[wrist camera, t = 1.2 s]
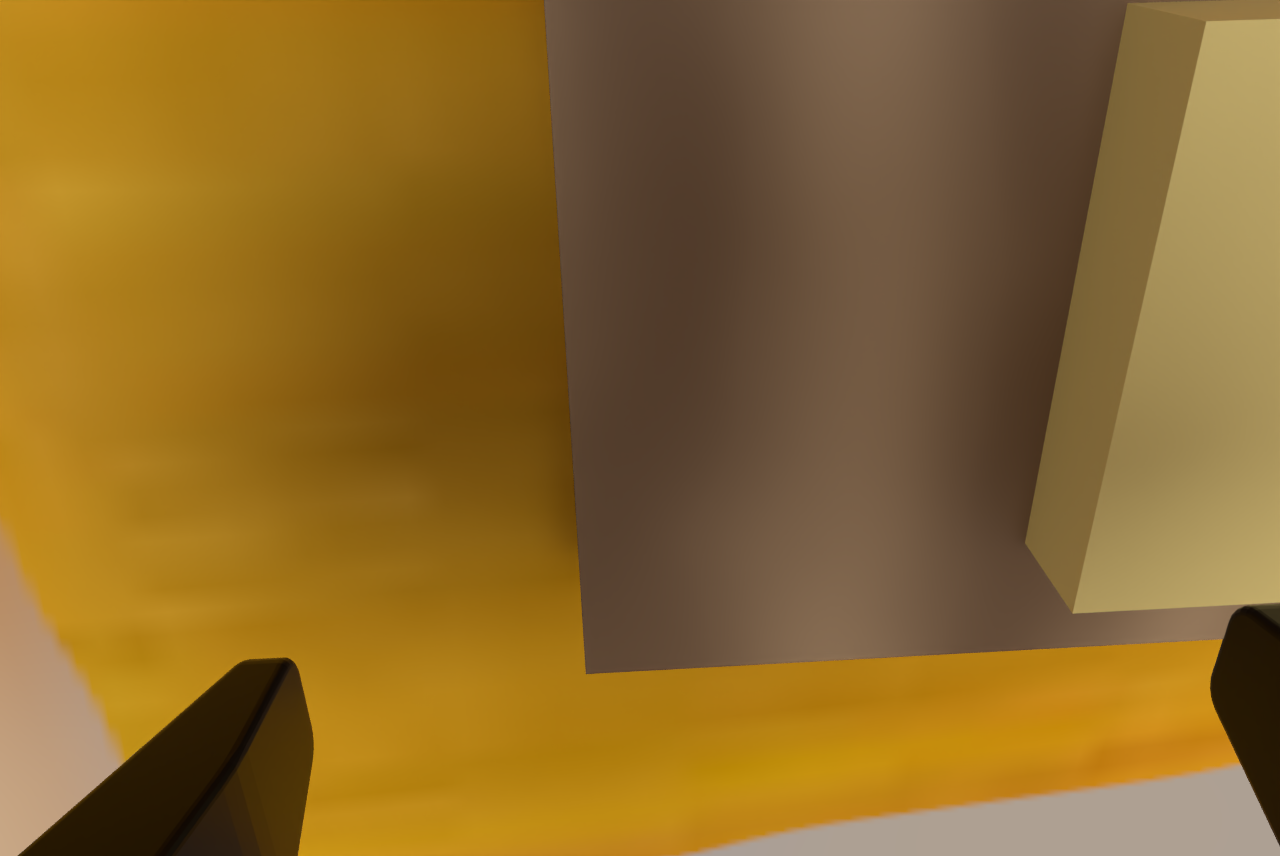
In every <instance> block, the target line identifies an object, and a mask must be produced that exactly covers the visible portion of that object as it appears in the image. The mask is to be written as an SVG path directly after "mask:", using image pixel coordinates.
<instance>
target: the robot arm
mask: <svg viewBox="0 0 1280 856" xmlns="http://www.w3.org/2000/svg"><path fill="white" fill-rule="evenodd" d="M1210 690H1211V698H1212V701H1213V705H1214V708H1215V710H1216V712H1217V714H1218V717H1219V719H1220V721H1221V723H1222V725H1223V727H1224V729H1225V731H1226V734H1227V736H1228V738H1229V740H1230V742H1231V744H1232V746H1233V748H1234V750H1235V753H1236V755H1237V757H1238V759H1239V761H1240V763H1241V765H1242V767H1243V769H1244V771H1245V774H1246V776H1247V778H1248V780H1249V782H1250V784H1251V786H1252V788H1253V791H1254V793H1255V795H1256V797H1257V799H1258V801H1259V803H1260V805H1261V808H1262V810H1263V812H1264V814H1265V816H1266V818H1267V820H1268V822H1269V824H1270V827H1271V829H1272V831H1273V833H1274V835H1275V837H1276V839H1277V841H1278V843H1279V845H1280V604H1264V605H1247V606H1243V607H1241V608H1238V609H1237V610H1236V611H1235V612H1234V613H1233V614H1232V615H1231V618H1230V620H1229V622H1228V626H1227V629H1226V632H1225V635H1224V638H1223V641H1222V644H1221V647H1220V651H1219V654H1218V657H1217V660H1216V663H1215V666H1214V669H1213V672H1212V676H1211V684H1210ZM313 750H314V740H313V731H312V726H311V722H310V717H309V713H308V709H307V704H306V700H305V695H304V691H303V687H302V682H301V678H300V674H299V670H298V668H297V666H296V664H295V663H294V661H292V660H290V659H288V658H267V659H250V660H245V661H242V662H240V663H239V664H237V665H236V666H234V667H233V668H232V669H231V670H230V671H229V672H227V673H226V674H225V675H224V676H223V677H222V678H221V679H219V680H218V681H217V682H216V683H215V684H214V685H213V686H211V687H210V688H209V689H208V690H207V691H206V692H205V693H203V694H202V695H201V696H200V697H199V698H198V699H197V700H195V701H194V702H193V703H192V704H191V705H190V706H189V707H187V708H186V709H185V710H184V711H183V712H182V713H181V714H179V715H178V716H177V717H176V718H175V719H174V720H173V721H171V722H170V723H169V724H168V725H167V726H166V727H164V728H163V729H162V730H161V731H160V732H159V733H158V734H156V735H155V736H154V737H153V738H152V739H151V740H150V741H148V742H147V743H146V744H145V745H144V746H143V747H142V748H140V749H139V750H138V751H137V752H136V753H135V754H134V755H132V756H131V757H130V758H129V759H128V760H127V761H126V762H124V763H123V764H122V765H121V766H120V767H119V768H118V769H116V770H115V771H114V772H113V773H112V774H111V775H110V776H108V777H107V778H106V779H105V780H104V781H103V782H102V783H100V784H99V785H98V786H97V787H96V788H95V789H94V790H92V791H91V792H90V793H89V794H88V795H87V796H86V797H85V798H83V799H82V800H81V801H80V802H79V803H78V804H76V806H74V807H73V808H72V809H71V810H70V811H68V812H67V813H66V814H65V815H64V816H63V817H62V818H60V819H59V820H58V821H57V822H56V823H55V824H54V825H52V826H51V827H50V828H49V829H48V830H47V831H46V832H44V833H43V834H42V835H41V836H40V837H39V838H38V839H36V840H35V841H34V842H33V843H32V844H31V845H29V846H28V847H27V848H26V849H25V850H24V851H23V852H21V853H20V854H19V855H18V856H298V850H299V844H300V837H301V831H302V825H303V819H304V812H305V806H306V800H307V793H308V787H309V781H310V774H311V768H312V762H313Z"/></svg>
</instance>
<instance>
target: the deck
mask: <svg viewBox="0 0 1280 856" xmlns="http://www.w3.org/2000/svg"><path fill="white" fill-rule="evenodd" d="M1183 1H1216V0H544V7H545V23H546V39H547V55H548V71H549V87H550V103H551V119H552V135H553V151H554V168H555V184H556V200H557V216H558V232H559V248H560V264H561V280H562V296H563V313H564V329H565V345H566V361H567V377H568V393H569V409H570V425H571V441H572V457H573V474H574V490H575V506H576V522H577V538H578V554H579V570H580V586H581V602H582V619H583V635H584V651H585V667H586V674H594V673H612V672H630V671H648V670H667V669H685V668H703V667H721V666H740V665H758V664H776V663H794V662H813V661H831V660H849V659H867V658H886V657H904V656H922V655H940V654H959V653H977V652H995V651H1013V650H1032V649H1050V648H1068V647H1086V646H1105V645H1123V644H1141V643H1159V642H1178V641H1196V640H1214V639H1223V638H1224V635H1225V632H1226V629H1227V626H1228V622H1229V620H1230V618H1231V615H1232V614H1233V613H1234V612H1235V611H1236V610H1237V609H1238V608H1241V607H1243V606H1247V605H1264V604H1280V603H1262V604H1243V605H1224V606H1206V607H1187V608H1168V609H1150V610H1131V611H1112V612H1094V613H1075V614H1072V612H1071V611H1070V609H1069V608H1068V606H1067V605H1066V603H1065V602H1064V600H1063V599H1062V597H1061V596H1060V594H1059V593H1058V591H1057V590H1056V588H1055V587H1054V585H1053V584H1052V582H1051V581H1050V580H1049V578H1048V577H1047V575H1046V574H1045V572H1044V571H1043V569H1042V568H1041V566H1040V565H1039V563H1038V562H1037V560H1036V559H1035V557H1034V556H1033V554H1032V553H1031V551H1030V550H1029V548H1028V547H1027V545H1026V544H1025V540H1026V535H1027V530H1028V524H1029V519H1030V514H1031V509H1032V503H1033V498H1034V493H1035V487H1036V482H1037V477H1038V472H1039V466H1040V461H1041V456H1042V451H1043V445H1044V440H1045V435H1046V430H1047V424H1048V419H1049V414H1050V409H1051V403H1052V398H1053V393H1054V388H1055V382H1056V377H1057V372H1058V367H1059V361H1060V356H1061V351H1062V346H1063V340H1064V335H1065V330H1066V324H1067V319H1068V314H1069V309H1070V303H1071V298H1072V293H1073V288H1074V282H1075V277H1076V272H1077V267H1078V261H1079V256H1080V251H1081V246H1082V240H1083V235H1084V230H1085V225H1086V219H1087V214H1088V209H1089V204H1090V198H1091V193H1092V188H1093V182H1094V177H1095V172H1096V167H1097V161H1098V156H1099V151H1100V146H1101V140H1102V135H1103V130H1104V125H1105V119H1106V114H1107V109H1108V104H1109V98H1110V93H1111V88H1112V83H1113V77H1114V72H1115V67H1116V62H1117V56H1118V51H1119V46H1120V40H1121V35H1122V30H1123V25H1124V19H1125V14H1126V9H1127V4H1128V3H1151V2H1183Z"/></svg>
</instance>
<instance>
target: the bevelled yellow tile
mask: <svg viewBox="0 0 1280 856" xmlns="http://www.w3.org/2000/svg"><path fill="white" fill-rule="evenodd" d="M1025 544H1026V545H1027V547H1028V548H1029V550H1030V551H1031V553H1032V554H1033V556H1034V557H1035V559H1036V560H1037V562H1038V563H1039V565H1040V566H1041V568H1042V569H1043V571H1044V572H1045V574H1046V575H1047V577H1048V578H1049V580H1050V581H1051V582H1052V584H1053V585H1054V587H1055V588H1056V590H1057V591H1058V593H1059V594H1060V596H1061V597H1062V599H1063V600H1064V602H1065V603H1066V605H1067V606H1068V608H1069V609H1070V611H1071V612H1072V614H1075V613H1094V612H1112V611H1131V610H1150V609H1168V608H1187V607H1206V606H1224V605H1243V604H1262V603H1280V0H1216V1H1183V2H1151V3H1128V4H1127V9H1126V14H1125V19H1124V25H1123V30H1122V35H1121V40H1120V46H1119V51H1118V56H1117V62H1116V67H1115V72H1114V77H1113V83H1112V88H1111V93H1110V98H1109V104H1108V109H1107V114H1106V119H1105V125H1104V130H1103V135H1102V140H1101V146H1100V151H1099V156H1098V161H1097V167H1096V172H1095V177H1094V182H1093V188H1092V193H1091V198H1090V204H1089V209H1088V214H1087V219H1086V225H1085V230H1084V235H1083V240H1082V246H1081V251H1080V256H1079V261H1078V267H1077V272H1076V277H1075V282H1074V288H1073V293H1072V298H1071V303H1070V309H1069V314H1068V319H1067V324H1066V330H1065V335H1064V340H1063V346H1062V351H1061V356H1060V361H1059V367H1058V372H1057V377H1056V382H1055V388H1054V393H1053V398H1052V403H1051V409H1050V414H1049V419H1048V424H1047V430H1046V435H1045V440H1044V445H1043V451H1042V456H1041V461H1040V466H1039V472H1038V477H1037V482H1036V487H1035V493H1034V498H1033V503H1032V509H1031V514H1030V519H1029V524H1028V530H1027V535H1026V540H1025Z"/></svg>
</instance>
